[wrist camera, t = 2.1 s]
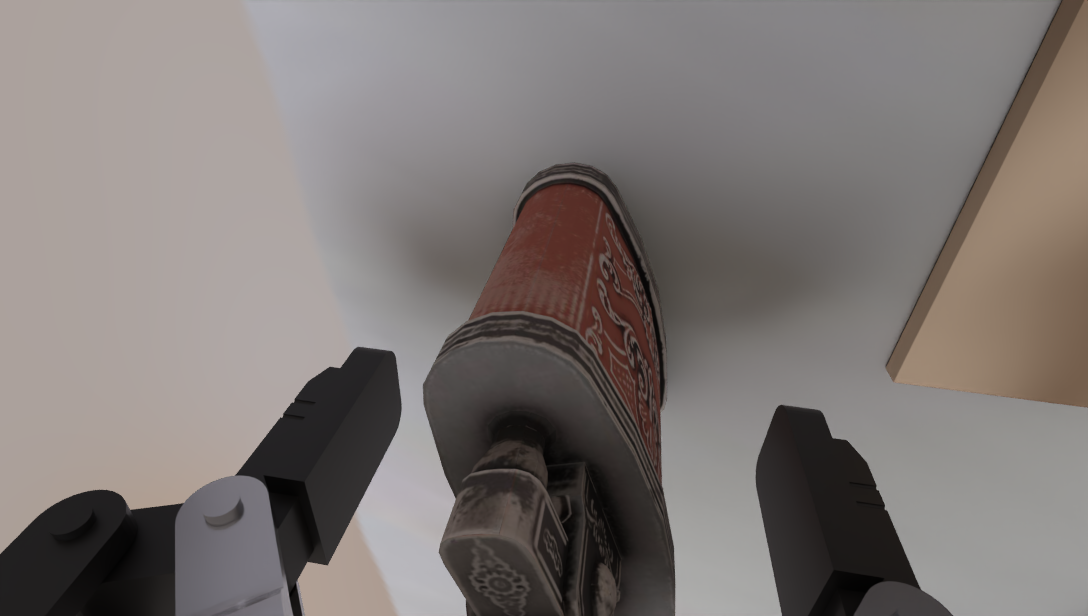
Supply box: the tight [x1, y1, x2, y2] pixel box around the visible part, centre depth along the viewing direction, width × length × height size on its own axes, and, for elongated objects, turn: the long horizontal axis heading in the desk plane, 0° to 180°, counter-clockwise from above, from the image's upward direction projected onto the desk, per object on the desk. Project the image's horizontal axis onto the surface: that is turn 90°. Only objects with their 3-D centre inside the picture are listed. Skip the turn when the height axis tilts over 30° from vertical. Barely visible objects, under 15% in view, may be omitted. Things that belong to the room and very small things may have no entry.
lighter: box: [423, 163, 675, 616], centre depth 12 cm, size 8×3×10 cm, turn 18°
